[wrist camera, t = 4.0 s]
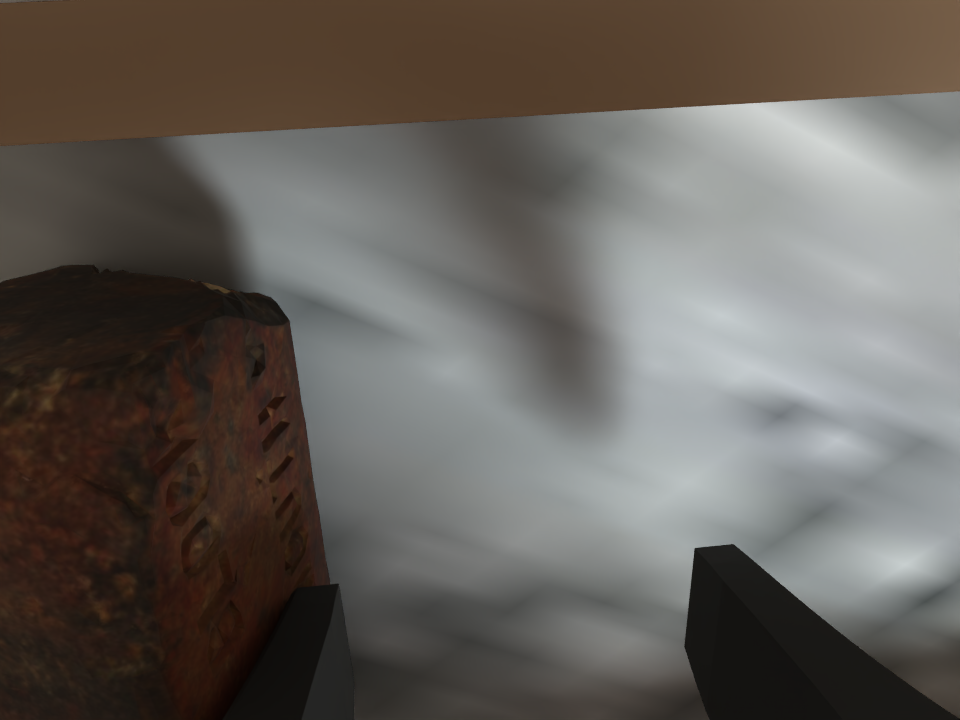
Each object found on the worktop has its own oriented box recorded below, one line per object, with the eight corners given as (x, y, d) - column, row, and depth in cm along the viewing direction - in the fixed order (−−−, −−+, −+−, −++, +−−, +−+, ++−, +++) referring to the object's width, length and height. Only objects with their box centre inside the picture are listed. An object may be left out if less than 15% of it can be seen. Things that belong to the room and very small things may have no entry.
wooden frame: (1131, 737, 19) (1285, 889, 16) (248, 847, 17) (213, 1043, 14) (1515, -58, 11) (1966, -83, 8) (14, 9, 10) (-177, 10, 6)
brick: (371, 766, 15) (278, 1062, 11) (187, 743, 16) (32, 1014, 11) (297, 255, 11) (88, 421, 6) (44, 252, 11) (-299, 402, 7)
